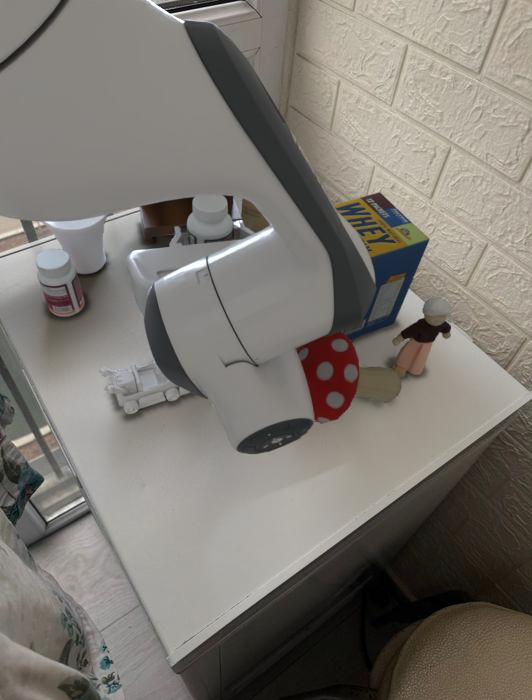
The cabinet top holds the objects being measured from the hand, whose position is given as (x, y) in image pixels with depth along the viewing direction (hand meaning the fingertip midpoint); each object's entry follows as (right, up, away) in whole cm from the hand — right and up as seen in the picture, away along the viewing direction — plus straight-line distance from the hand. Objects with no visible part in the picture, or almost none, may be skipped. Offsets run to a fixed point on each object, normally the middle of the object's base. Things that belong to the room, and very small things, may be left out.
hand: (208, 227), depth 61 cm
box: (+6, +4, +22) cm, 23 cm away
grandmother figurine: (+26, -17, +7) cm, 32 cm away
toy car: (-7, -19, +2) cm, 20 cm away
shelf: (-5, +3, +20) cm, 21 cm away
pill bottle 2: (0, -4, +4) cm, 6 cm away
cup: (-20, -2, +14) cm, 24 cm away
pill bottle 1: (-20, -9, +9) cm, 24 cm away
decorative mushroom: (+16, -20, +3) cm, 26 cm away
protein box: (+17, -10, +12) cm, 23 cm away
